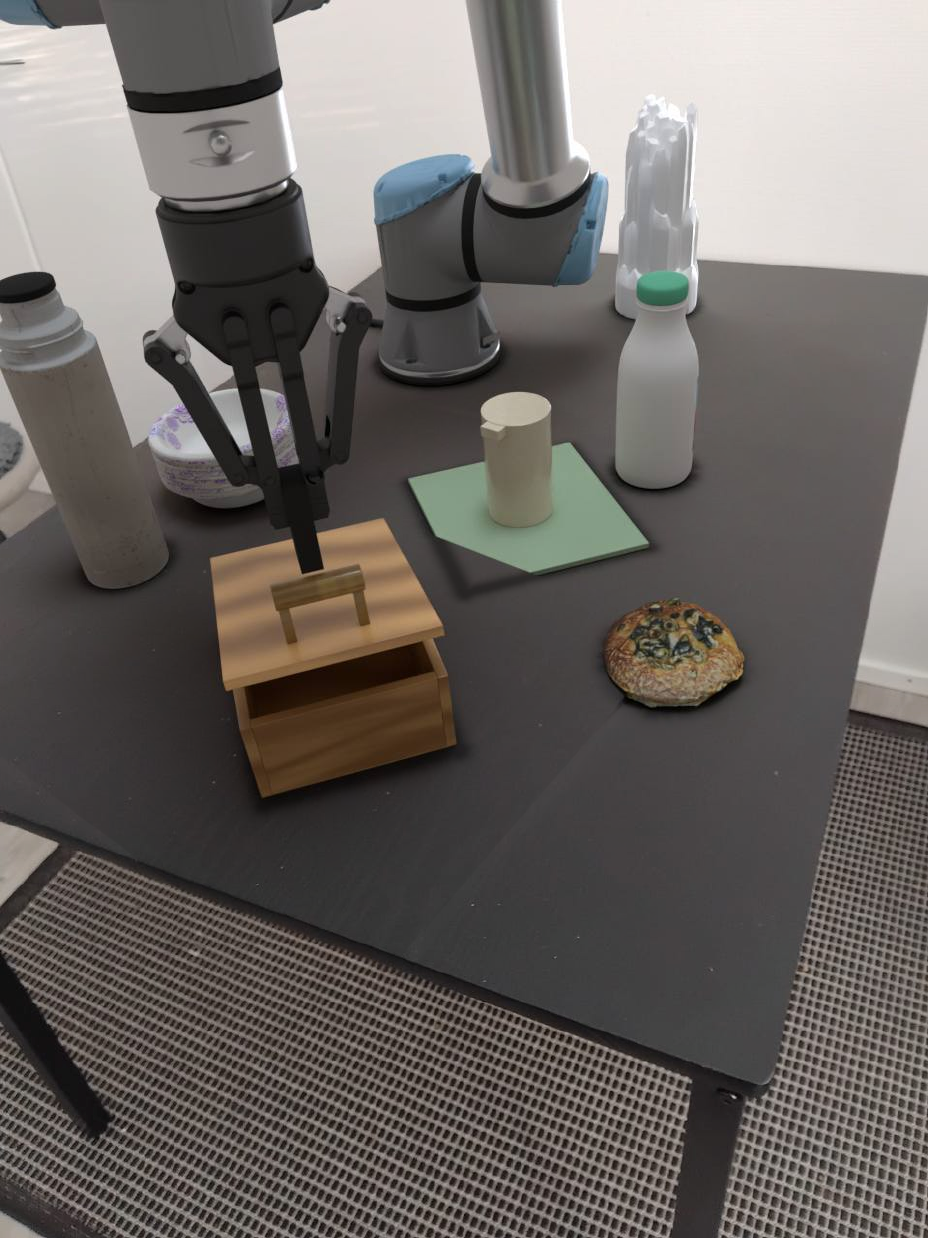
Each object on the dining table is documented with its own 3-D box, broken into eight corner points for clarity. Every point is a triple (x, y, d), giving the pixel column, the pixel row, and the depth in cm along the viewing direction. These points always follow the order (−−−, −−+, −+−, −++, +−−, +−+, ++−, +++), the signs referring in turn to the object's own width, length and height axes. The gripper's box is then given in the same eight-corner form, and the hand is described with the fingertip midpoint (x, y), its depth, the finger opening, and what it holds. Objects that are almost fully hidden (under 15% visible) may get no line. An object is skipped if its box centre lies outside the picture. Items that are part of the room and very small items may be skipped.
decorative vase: (702, 318, 127) (718, 107, 111) (619, 323, 128) (624, 114, 112) (688, 286, 136) (702, 85, 120) (610, 291, 136) (614, 92, 120)
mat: (408, 483, 102) (407, 478, 102) (569, 446, 105) (569, 441, 105) (462, 594, 87) (462, 589, 87) (648, 548, 90) (649, 542, 90)
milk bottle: (690, 492, 97) (706, 295, 84) (611, 489, 98) (615, 295, 85) (692, 452, 102) (707, 262, 90) (618, 450, 104) (622, 262, 91)
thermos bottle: (117, 535, 99) (13, 259, 81) (184, 545, 97) (93, 263, 79) (69, 582, 93) (-54, 297, 75) (139, 594, 91) (29, 303, 73)
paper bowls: (179, 456, 110) (159, 392, 105) (313, 442, 110) (300, 377, 105) (156, 533, 99) (133, 465, 94) (306, 517, 99) (291, 448, 94)
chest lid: (444, 635, 65) (433, 567, 63) (226, 691, 63) (205, 622, 60) (385, 526, 83) (374, 469, 80) (212, 566, 80) (195, 509, 78)
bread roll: (632, 602, 84) (641, 559, 80) (756, 652, 80) (771, 609, 77) (575, 687, 77) (582, 644, 74) (708, 746, 74) (722, 704, 70)
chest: (457, 751, 73) (448, 675, 68) (264, 805, 71) (239, 730, 66) (396, 597, 88) (384, 526, 83) (234, 637, 85) (212, 566, 80)
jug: (523, 540, 92) (518, 436, 85) (469, 520, 95) (460, 419, 88) (577, 493, 97) (576, 392, 90) (524, 475, 100) (519, 377, 93)
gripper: (96, 231, 46) (216, 617, 61) (366, 185, 48) (418, 569, 63) (95, 188, 51) (206, 551, 66) (338, 149, 54) (391, 509, 69)
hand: (309, 560), depth 65 cm, fingers closed
